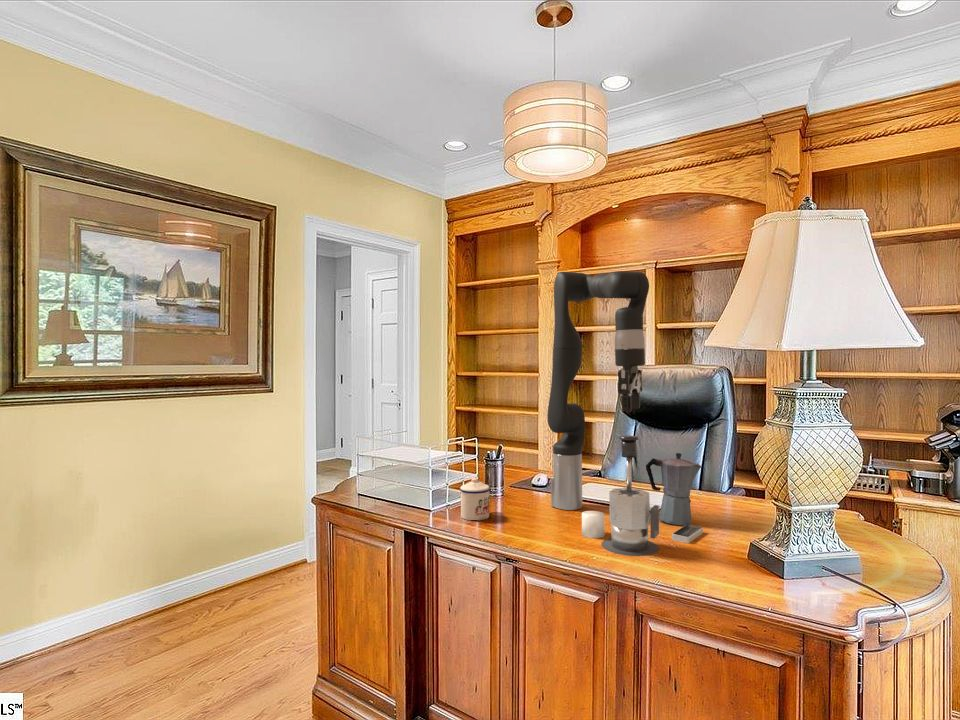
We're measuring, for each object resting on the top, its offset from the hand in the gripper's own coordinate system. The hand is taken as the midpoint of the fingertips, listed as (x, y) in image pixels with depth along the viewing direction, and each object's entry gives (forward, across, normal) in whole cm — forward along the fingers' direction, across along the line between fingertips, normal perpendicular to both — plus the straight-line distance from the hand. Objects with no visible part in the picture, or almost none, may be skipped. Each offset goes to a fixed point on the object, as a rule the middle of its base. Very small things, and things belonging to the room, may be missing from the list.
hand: (631, 409), depth 141 cm
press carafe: (+34, +5, +1) cm, 34 cm away
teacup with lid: (+34, -1, -48) cm, 58 cm away
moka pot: (+34, -23, +6) cm, 42 cm away
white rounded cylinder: (+34, +1, -11) cm, 36 cm away
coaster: (+34, +5, 0) cm, 35 cm away
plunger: (+20, +5, 0) cm, 21 cm away
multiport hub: (+35, -10, +11) cm, 38 cm away
